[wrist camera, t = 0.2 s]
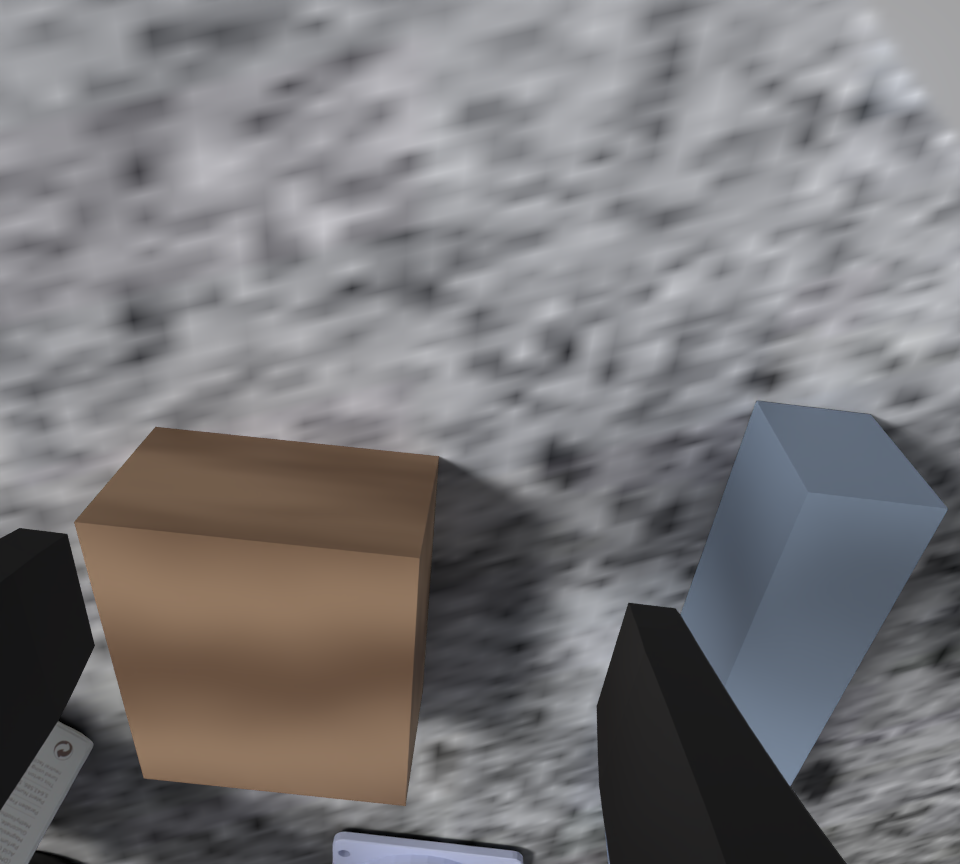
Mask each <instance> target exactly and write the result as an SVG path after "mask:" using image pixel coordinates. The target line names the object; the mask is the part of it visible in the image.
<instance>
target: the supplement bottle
mask: <svg viewBox="0 0 960 864" xmlns="http://www.w3.org/2000/svg"><path fill="white" fill-rule="evenodd" d="M28 864H74V863H72V862H69V861H67V860H64V859H62V858H59V857H56V856H52V855H49V854H45V853H40V852H34V854H33V856H32V858H31V860H30V861H29V863H28Z"/></svg>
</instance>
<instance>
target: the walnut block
mask: <svg viewBox="0 0 960 864" xmlns="http://www.w3.org/2000/svg"><path fill="white" fill-rule="evenodd" d="M438 462H439V456H431V455H421V454H412V453H402V452H393V451H383V450H373V449H364V448H354V447H344V446H335V445H325V444H315V443H306V442H296V441H286V440H277V439H267V438H257V437H248V436H238V435H229V434H219V433H209V432H200V431H190V430H180V429H171V428H161V427H155V428H154V429H153V430H152V432H151V433H150V434H149V435H148V436H147V437H146V439H145V440H144V441H143V442H142V443H141V444H140V446H139V447H138V448H137V449H136V450H135V451H134V453H133V454H132V455H131V456H130V457H129V458H128V460H127V461H126V462H125V463H124V464H123V466H122V467H121V468H120V469H119V470H118V471H117V473H116V474H115V475H114V476H113V477H112V478H111V480H110V481H109V482H108V483H107V484H106V485H105V487H104V488H103V489H102V490H101V491H100V492H99V494H98V495H97V496H96V497H95V498H94V499H93V501H92V502H91V503H90V504H89V505H88V506H87V508H86V509H85V510H84V511H83V512H82V513H81V515H80V516H79V517H78V518H77V519H76V521H75V522H74V523H75V527H76V531H77V534H78V538H79V542H80V545H81V549H82V553H83V556H84V560H85V564H86V567H87V571H88V575H89V579H90V582H91V586H92V590H93V593H94V597H95V601H96V604H97V608H98V612H99V615H100V619H101V623H102V626H103V630H104V634H105V637H106V641H107V645H108V648H109V652H110V656H111V659H112V663H113V667H114V670H115V674H116V678H117V682H118V685H119V689H120V693H121V696H122V700H123V704H124V707H125V711H126V715H127V718H128V722H129V726H130V729H131V733H132V737H133V740H134V744H135V748H136V751H137V755H138V759H139V762H140V766H141V770H142V773H143V777H144V778H145V779H155V780H164V781H174V782H183V783H193V784H202V785H212V786H221V787H231V788H240V789H250V790H259V791H269V792H278V793H288V794H297V795H307V796H316V797H326V798H335V799H345V800H354V801H364V802H373V803H383V804H392V805H402V806H406V799H407V792H408V786H409V779H410V772H411V766H412V759H413V752H414V746H415V739H416V732H417V725H418V719H419V712H420V705H421V699H422V692H423V679H424V665H425V650H426V636H427V621H428V607H429V593H430V578H431V564H432V549H433V535H434V520H435V506H436V491H437V477H438Z"/></svg>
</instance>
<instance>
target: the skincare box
mask: <svg viewBox="0 0 960 864" xmlns="http://www.w3.org/2000/svg"><path fill="white" fill-rule="evenodd" d="M92 748H93V742H92V741H91V740H90V739H89V738H87V737H86V736H85V735H83V734H82V733H80V732H78V731H76V730H75V729H73V728H71V727H68V726H66V725H64V724H62V723H61V722H59V721H58V722H57V723H56V725H55V727H54V728H53V730H52V731H51V733H50V735H49V736H48V738H47V739H46V741H45V743H44V744H43V746H42V747H41V749H40V750H39V752H38V753H37V755H36V757H35V758H34V760H33V761H32V763H31V764H30V766H29V767H28V769H27V771H26V772H25V774H24V775H23V777H22V778H21V780H20V781H19V783H18V784H17V786H16V788H15V789H14V791H13V792H12V794H11V795H10V797H9V798H8V800H7V801H6V803H5V804H4V806H3V807H2V809H1V810H0V864H28V863H29V861H30V860H31V858H32V856H33V854H34V852H35V851H36V849H37V847H38V845H39V843H40V842H41V840H42V838H43V836H44V834H45V833H46V831H47V829H48V827H49V825H50V824H51V822H52V820H53V818H54V816H55V814H56V813H57V811H58V809H59V807H60V806H61V804H62V802H63V800H64V799H65V797H66V795H67V793H68V791H69V789H70V788H71V786H72V784H73V782H74V780H75V778H76V777H77V775H78V773H79V771H80V769H81V768H82V766H83V764H84V762H85V761H86V759H87V757H88V755H89V753H90V752H91V750H92Z"/></svg>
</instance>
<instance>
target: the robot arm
mask: <svg viewBox="0 0 960 864" xmlns="http://www.w3.org/2000/svg"><path fill="white" fill-rule="evenodd" d="M94 646H95V645H94V641H93V637H92V633H91V628H90V624H89V620H88V616H87V612H86V608H85V604H84V600H83V596H82V592H81V588H80V584H79V580H78V576H77V571H76V567H75V563H74V559H73V555H72V551H71V547H70V543H69V539H68V535H67V534H63V533H55V532H47V531H38V530H30V529H22V528H19V529H17V530H15V531H13V532H12V533H10V534H8V535H6V536H4V537H2V538H0V810H1V809H2V807H3V806H4V804H5V803H6V801H7V800H8V798H9V797H10V795H11V794H12V792H13V791H14V789H15V788H16V786H17V784H18V783H19V781H20V780H21V778H22V777H23V775H24V774H25V772H26V771H27V769H28V767H29V766H30V764H31V763H32V761H33V760H34V758H35V757H36V755H37V753H38V752H39V750H40V749H41V747H42V746H43V744H44V743H45V741H46V739H47V738H48V736H49V735H50V733H51V731H52V730H53V728H54V727H55V725H56V723H57V722H58V720H59V718H60V716H61V714H62V712H63V710H64V708H65V706H66V704H67V702H68V700H69V698H70V697H71V695H72V693H73V691H74V689H75V687H76V685H77V682H78V680H79V678H80V676H81V674H82V672H83V670H84V668H85V665H86V663H87V661H88V659H89V657H90V655H91V653H92V650H93V648H94ZM597 737H598V767H599V788H600V795H601V803H602V810H603V818H604V825H605V832H606V840H607V847H608V854H609V861H610V864H846V862H845V861H844V860H843V858H842V857H841V856H840V854H839V853H838V852H837V850H836V849H835V848H834V846H833V845H832V844H831V842H830V841H829V839H828V838H827V837H826V835H825V834H824V833H823V831H822V830H821V829H820V827H819V826H818V825H817V823H816V822H815V821H814V819H813V818H812V816H811V815H810V814H809V812H808V811H807V810H806V808H805V807H804V805H803V804H802V803H801V801H800V800H799V798H798V797H797V795H796V794H795V793H794V791H793V790H792V788H791V787H790V786H789V784H788V783H787V781H786V780H785V778H784V777H783V775H782V774H781V772H780V771H779V769H778V768H777V766H776V765H775V763H774V762H773V761H772V759H771V758H770V756H769V755H768V753H767V752H766V750H765V749H764V747H763V746H762V744H761V743H760V741H759V740H758V738H757V737H756V735H755V734H754V732H753V731H752V729H751V728H750V726H749V725H748V723H747V722H746V720H745V719H744V717H743V715H742V714H741V712H740V711H739V709H738V708H737V706H736V705H735V703H734V701H733V700H732V698H731V697H730V695H729V693H728V692H727V690H726V689H725V687H724V685H723V684H722V682H721V681H720V679H719V677H718V676H717V674H716V673H715V671H714V669H713V668H712V666H711V664H710V663H709V661H708V660H707V658H706V656H705V655H704V653H703V651H702V650H701V648H700V646H699V645H698V643H697V641H696V640H695V638H694V636H693V635H692V633H691V631H690V630H689V628H688V626H687V625H686V623H685V621H684V620H683V618H682V616H681V615H680V614H679V612H678V611H677V610H676V609H675V608H667V607H659V606H651V605H643V604H635V603H628V606H627V609H626V612H625V616H624V619H623V622H622V626H621V629H620V632H619V635H618V639H617V642H616V645H615V648H614V652H613V655H612V658H611V661H610V665H609V668H608V671H607V675H606V678H605V681H604V684H603V688H602V691H601V694H600V697H599V701H598V704H597ZM333 864H523V856H522V855H521V854H520V853H519V852H517V851H513V850H504V849H495V848H486V847H478V846H469V845H460V844H451V843H442V842H434V841H425V840H416V839H407V838H399V837H390V836H381V835H372V834H364V833H355V832H339V833H337V834H336V835H335V837H334V841H333Z"/></svg>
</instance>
